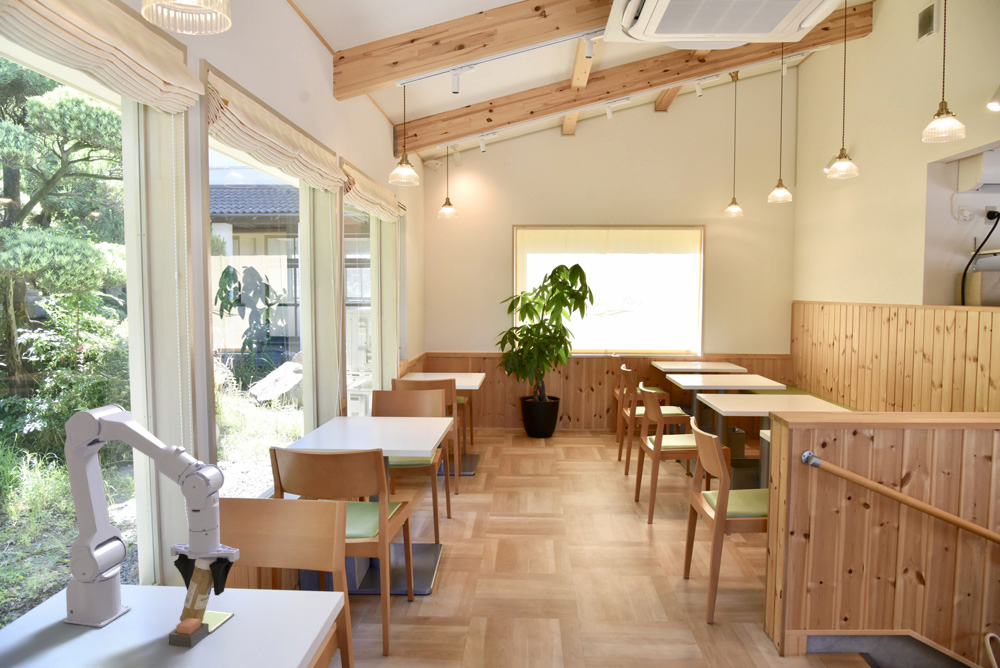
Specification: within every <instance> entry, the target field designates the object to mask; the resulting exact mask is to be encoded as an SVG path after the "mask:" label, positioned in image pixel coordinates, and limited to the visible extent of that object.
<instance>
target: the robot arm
mask: <svg viewBox="0 0 1000 668" xmlns="http://www.w3.org/2000/svg"><path fill="white" fill-rule="evenodd" d="M64 430H65V434H66V435H65V436H66V438H65V443H64V447H63V448H64V449H63V450H64V457H65V462H66V468H67V472H68V478H69V484H70V490H71V495H72V500H73V505H74V510H75V516H76V522H77V527H78V531H79V532H78V535H77V537H75V540H74V541H73V543H72V544H71V546H70V560H69V564H68V568H69V572H70V574H71V575H72V577H71V579H70V580H69V581H68V583H67V586H66V590H65V595H66V597H65V599H66V600H65V601H66V618H64V619H63V623H67V624H75V625H81V626H83V625H84V626H89V627H90V626H91V627H97V628H102V627H105V626H106V625H108V624H109V623H111V622H112V621H114V620H116V619H117V618H119V617H120V616H123V615H124V614H125V613H127V612H129V611H130V610H132V606H130V605H124V604H123V605H122V589H121V587H122V586H121V569H122V568H123V567H122V566H123V562H124V561H125V560H126V558H127V556H128V554H129V553H128V552H129V549H128V545H127V543H126V541H125V540H124V538H123V536H122V533H121V532H122V531H121V530H120V529H119V528H118V527H117V526H116V527H115V526H114V525H112V524H111V519H110V514H109V510H108V504H107V500H106V499H107V498H106V493H105V487H104V482H103V477H102V476H103V475H102V471H101V464H100V461H99V459H100V458H99V456H98V455H99V454H98V452H99V451H100V450H101V448H102V447H103V446H104V445H105V444H106V443H107V442H108V441H111V442H112V441H122V442H124V443H125V444H127V445H129V446H130V447H132V448H134V449H135V450H136V451H139V452H140V453H142V454H144V455H145V456H146V457H149V458H151V459H152V460H153V462H154V468H155V469H156V470H157V471H158V472H159V473H161V474H163V475H164V476H166V477H167V478H168V479H169V480H171V481H173V482H174V483H176V484H177V485H178V486H179V487H180V490H181V493H182V495H183V497H184V498H185V500H186V507H187V517H188V518H187V519H188V524H187V525H188V542H185V543H179V542H178V543H174V544H173V545H171V546H170V556H171V557H176V556H178V557H177V559H175V560H174V561H173V564H174V566H175V569H177V570H178V572H179V573H180V575H181V578H182V579H183V582H184V585H185V589H186V592H188V588H189V584H190V581H191V578H192V575H193V572H194V568H195V561H196V559H197V558H202V557H209V558H214V559H216V561H215V562H213V563H211V564H210V565H209V567H210V570H211V572H212V576H213V592H214V596H220V595H221V594H223V593H224V592H225V588H226V583H227V579H228V577H229V573H230V571H231V569H232V567H233V564H234V563H235V562H236V561H238V560H239V559H240V549H239V548H234V547H232V546H228V545H224V544H222V543H221V531H220V528H221V527H220V493H219V492H220V491H219V490H221V488H222V487H223V486H224V482H225V476H224V473H223V471H222V470H221V469H220V468H219V467H218V466H217V465H215V464H212V463H211V464H210V463H209V464H205V462H203V461H202V460H198V459H197V458H195V457H193V456H192V455H191V454H190V453H188V452H187V451H186V450H187V449H186V448H185V447H183V446H182V445H180V446H178V445H176V444H174V445H166V444H165V443H163V442H162V441H161V440H160V439H158V437H156V436H155V435H153V434H152V433H151V432H150V431H149V430H148V429H146V428H145V427H144V426H142V425H141V424H140V423H139V422H138V421H136V420H135V419H134V417H133V414H132V413H131V412H130V410H129V411H128V410H125V408H124V407H123V406H121V405H119V404H118V403H110V404H107V405H104V406H100V407H95V408H91V409H88V410H87V409H86V410H81V411H77V412H75V413H73V415H71V417H69V419H68V420H66V422H65V423H64Z"/></svg>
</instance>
